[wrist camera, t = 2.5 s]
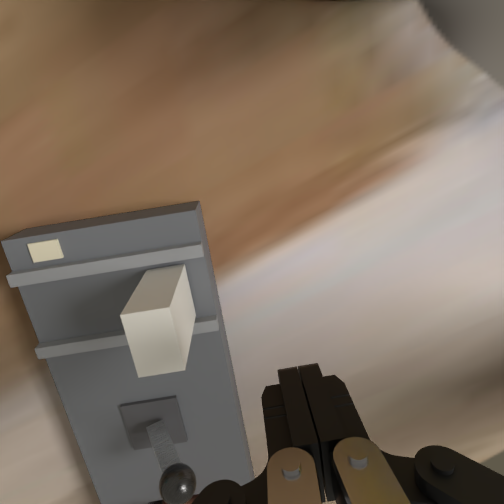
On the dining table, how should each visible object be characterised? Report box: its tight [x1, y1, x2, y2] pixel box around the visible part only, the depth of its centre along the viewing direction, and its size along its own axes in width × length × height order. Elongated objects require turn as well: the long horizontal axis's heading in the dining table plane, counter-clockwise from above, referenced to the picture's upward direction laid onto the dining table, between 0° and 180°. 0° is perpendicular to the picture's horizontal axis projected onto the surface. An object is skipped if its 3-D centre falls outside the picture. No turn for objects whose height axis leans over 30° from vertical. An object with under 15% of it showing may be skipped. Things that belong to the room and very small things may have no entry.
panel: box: [1, 201, 255, 504], centre depth 29 cm, size 12×30×4 cm, turn 9°
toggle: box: [146, 419, 196, 504], centre depth 24 cm, size 2×2×6 cm
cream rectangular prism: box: [120, 264, 196, 378], centre depth 22 cm, size 2×4×6 cm, turn 9°
